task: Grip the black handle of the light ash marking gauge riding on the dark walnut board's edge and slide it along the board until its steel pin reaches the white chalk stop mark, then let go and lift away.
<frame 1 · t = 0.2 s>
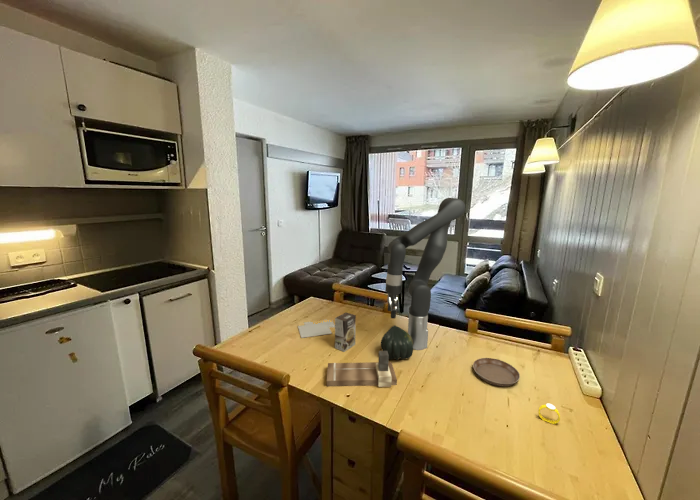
hand: (391, 314, 141), 17 cm above the table, tool pointing down, fingers open, 8 cm apart
plant saucer: (494, 376, 123), on the table
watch: (547, 421, 98), on the table
paper stack: (320, 326, 167), on the table
coffee box: (345, 346, 145), on the table
squash: (396, 356, 137), on the table
walnut board: (360, 376, 121), on the table
marking gauge: (383, 366, 118), point 6 cm above the table, slide at 0.0 cm
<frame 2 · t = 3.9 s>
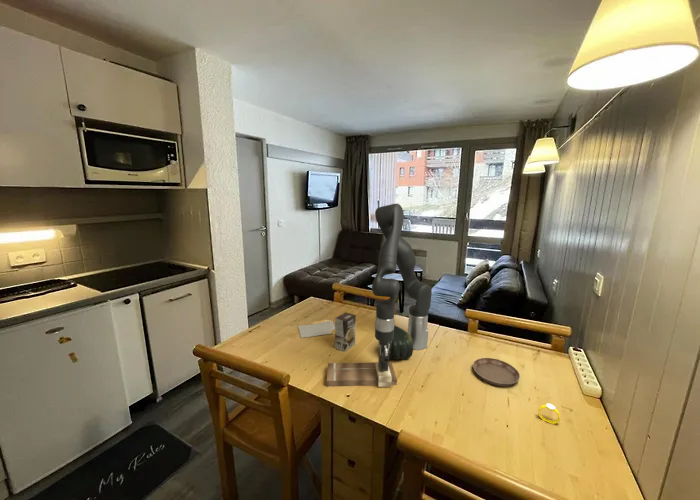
hand: (383, 365, 118), 6 cm above the table, tool pointing down, fingers closed on marking gauge, 3 cm apart
marking gauge: (383, 366, 118), point 6 cm above the table, slide at 0.0 cm, touching gripper
everything else where it was.
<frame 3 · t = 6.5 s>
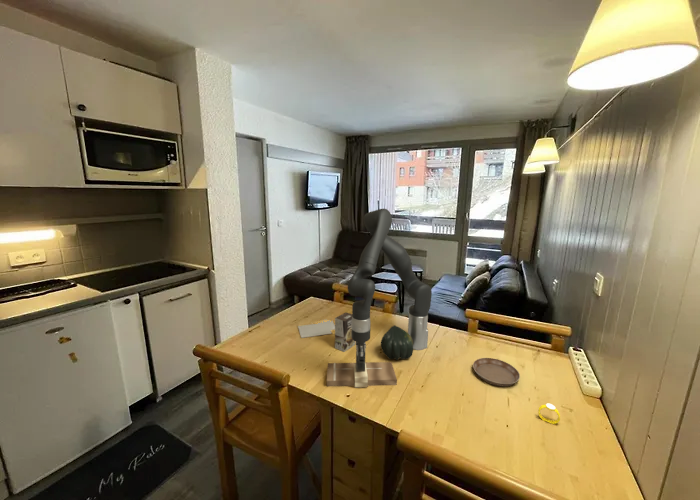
hand: (360, 365, 118), 6 cm above the table, tool pointing down, fingers closed on marking gauge, 3 cm apart
marking gauge: (360, 367, 117), point 6 cm above the table, slide at 9.4 cm, touching gripper
everything else where it was.
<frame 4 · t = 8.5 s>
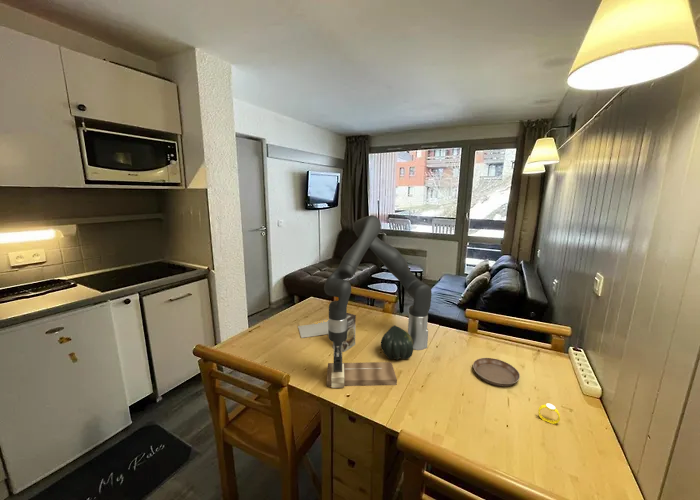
hand: (337, 366, 118), 6 cm above the table, tool pointing down, fingers closed on marking gauge, 3 cm apart
marking gauge: (337, 367, 117), point 6 cm above the table, slide at 18.6 cm, touching gripper
everything else where it was.
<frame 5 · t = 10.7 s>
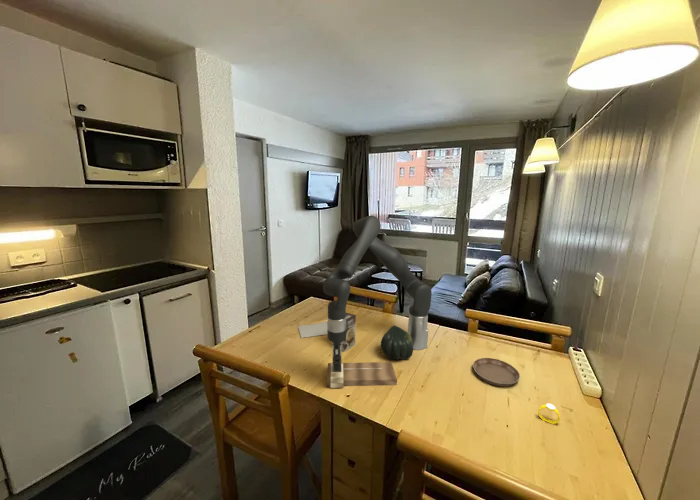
hand: (336, 364, 118), 7 cm above the table, tool pointing down, fingers open, 8 cm apart
marking gauge: (337, 367, 117), point 6 cm above the table, slide at 19.0 cm
everything else where it was.
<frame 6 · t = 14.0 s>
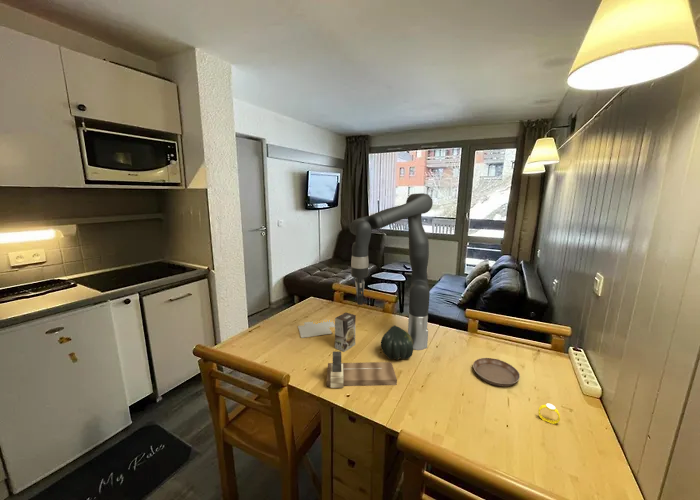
hand: (359, 300, 129), 28 cm above the table, tool pointing down, fingers open, 8 cm apart
nothing on the table moved.
at the end: marking gauge slide at 19.0 cm; the gripper is holding nothing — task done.
